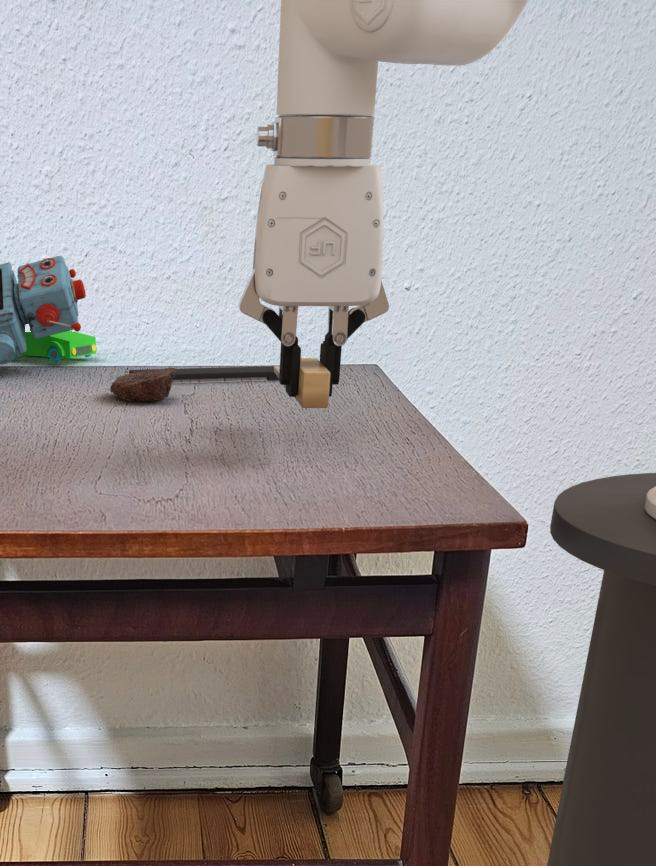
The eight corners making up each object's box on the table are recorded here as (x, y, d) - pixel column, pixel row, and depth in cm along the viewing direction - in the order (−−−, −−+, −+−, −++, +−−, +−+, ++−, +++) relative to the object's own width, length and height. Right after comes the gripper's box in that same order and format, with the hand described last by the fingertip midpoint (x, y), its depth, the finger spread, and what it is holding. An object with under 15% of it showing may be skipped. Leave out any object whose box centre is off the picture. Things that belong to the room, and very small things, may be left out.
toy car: (-3, 358, 149) (-8, 300, 146) (30, 352, 154) (27, 296, 151) (68, 364, 144) (65, 304, 141) (100, 357, 149) (98, 299, 146)
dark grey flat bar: (284, 383, 137) (273, 377, 142) (284, 371, 137) (273, 366, 141) (135, 387, 135) (129, 381, 139) (135, 375, 134) (128, 369, 138)
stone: (162, 407, 123) (162, 375, 121) (98, 403, 125) (96, 371, 123) (183, 396, 128) (183, 365, 127) (121, 393, 130) (120, 362, 129)
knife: (330, 408, 99) (333, 372, 97) (299, 408, 99) (301, 372, 97) (300, 371, 113) (302, 339, 112) (273, 371, 113) (275, 340, 112)
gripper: (225, 144, 89) (219, 403, 98) (436, 145, 89) (410, 402, 99) (216, 143, 95) (211, 386, 105) (413, 144, 96) (391, 385, 105)
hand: (308, 392), depth 102 cm, fingers closed on knife, 2 cm apart
